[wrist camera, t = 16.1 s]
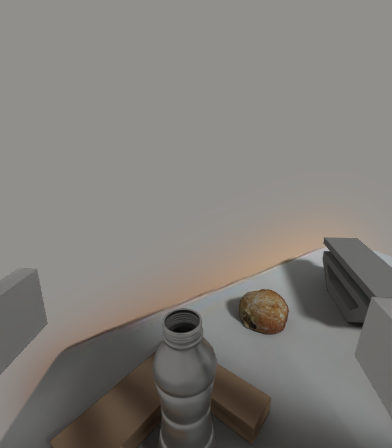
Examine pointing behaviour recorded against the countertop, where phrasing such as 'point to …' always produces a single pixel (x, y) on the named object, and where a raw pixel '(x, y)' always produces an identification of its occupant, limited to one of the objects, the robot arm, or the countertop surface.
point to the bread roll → (263, 311)
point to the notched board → (151, 411)
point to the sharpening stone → (355, 276)
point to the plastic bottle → (185, 382)
